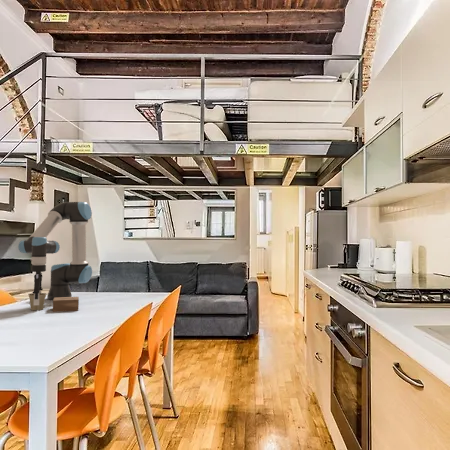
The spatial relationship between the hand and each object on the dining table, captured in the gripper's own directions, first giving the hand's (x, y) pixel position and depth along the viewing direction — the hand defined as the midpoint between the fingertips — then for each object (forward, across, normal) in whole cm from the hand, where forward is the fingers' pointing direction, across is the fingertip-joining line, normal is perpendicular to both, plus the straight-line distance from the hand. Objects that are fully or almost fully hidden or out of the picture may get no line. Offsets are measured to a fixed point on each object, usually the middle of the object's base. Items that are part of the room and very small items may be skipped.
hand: (37, 303), depth 222 cm
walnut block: (+3, +4, +15) cm, 16 cm away
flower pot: (+4, 0, 0) cm, 4 cm away
